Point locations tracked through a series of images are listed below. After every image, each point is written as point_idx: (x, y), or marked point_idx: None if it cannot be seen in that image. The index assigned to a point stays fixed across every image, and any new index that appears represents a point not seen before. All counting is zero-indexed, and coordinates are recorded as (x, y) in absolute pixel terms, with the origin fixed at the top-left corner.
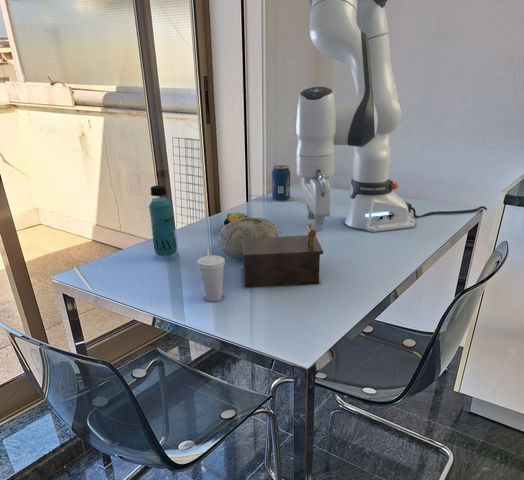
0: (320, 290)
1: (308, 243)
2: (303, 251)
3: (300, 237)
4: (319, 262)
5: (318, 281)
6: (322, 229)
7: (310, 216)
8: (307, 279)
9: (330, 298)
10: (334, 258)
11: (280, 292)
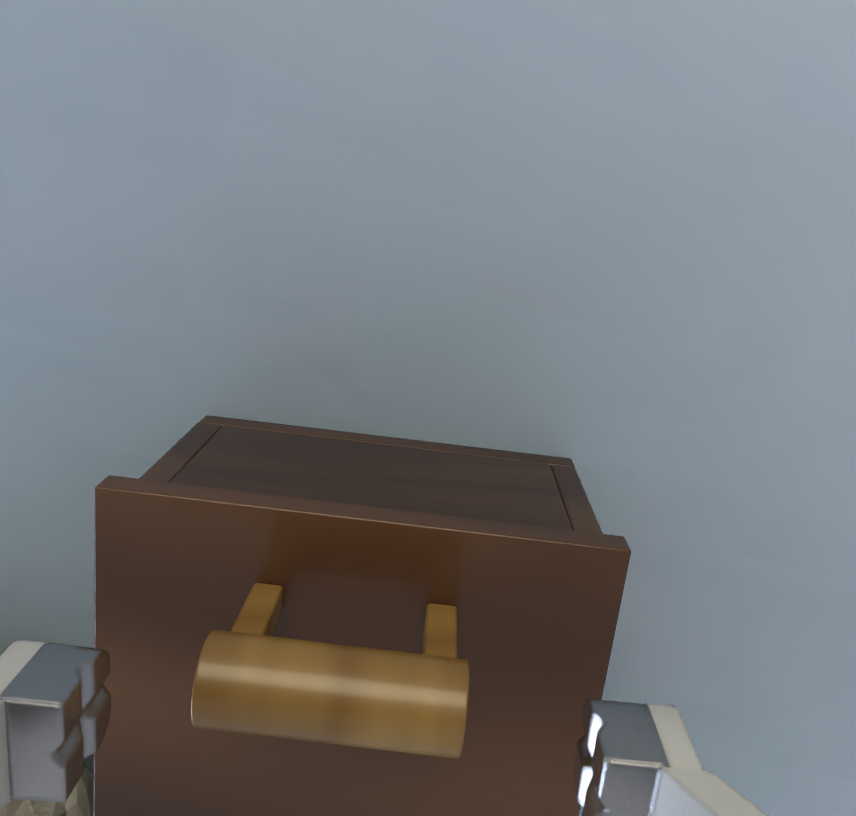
0: (686, 478)
1: (360, 628)
2: (577, 730)
3: (155, 656)
4: (600, 530)
5: (574, 468)
6: (679, 713)
7: (87, 733)
8: None
9: (840, 449)
10: (70, 170)
11: None
